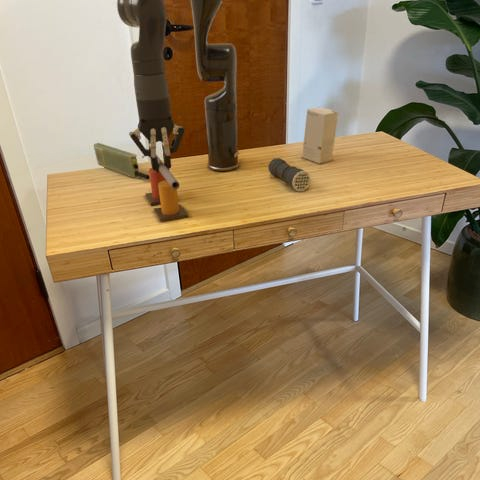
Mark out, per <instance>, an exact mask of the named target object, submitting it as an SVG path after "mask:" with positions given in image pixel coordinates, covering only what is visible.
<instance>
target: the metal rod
mask: <svg viewBox="0 0 480 480" xmlns="http://www.w3.org/2000/svg"><path fill="white" fill-rule="evenodd" d="M146 149H147V150H149V148H146ZM156 157H157V159H158V167H159V171H160V172H161V174H162V175H163V177H164V178H165V179H166V181H167V182H168V183H169V185H170V186H171V187H172V188H173V189H175V190H176V189H177V190H178V189H179V188H180V187H181V185H180V182H179V181H178V180H177V179H176V177H175V176H174V175H173V174H172V172H171V170H170V169H169V170H168V168H167V167H166V166H165V165H164V161H162V159H160V158H161V157H159V156H158V154H156ZM148 158H149V159H150V157H149V156H148Z"/></svg>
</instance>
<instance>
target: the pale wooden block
mask: <svg viewBox="0 0 480 480" xmlns="http://www.w3.org/2000/svg"><path fill="white" fill-rule="evenodd" d="M338 117H339V112H338V111H335V110H332V109H329V108H326V107H322V106H317V107H311V108H307V109H306V117H305V127H304V136H303V137H304V138H303V144H302V145H303V146H302V154H301V157H302V159H305V160H308V161H311V162H314V163H316V164H319V165H320V164H324V163H327V162H331V161H332V160H333V153H334V145H335V140H336V139H335V138H336V131H337V124H338Z"/></svg>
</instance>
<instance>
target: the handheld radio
mask: <svg viewBox="0 0 480 480" xmlns="http://www.w3.org/2000/svg"><path fill="white" fill-rule="evenodd" d="M93 149H94V154H95V158H96V162H97V165H98V166H100V167H103V168H106V169H109V170H112V171H114V172H117V173H119V174H122V175H125V176H128V177H130V178H134V179H141V178H142V179H144V180H150V176H149V174H147V173H144V172H141V171H140V170H139V164H138V159H137V156H138V155H137V154H136V153H132V152H129V151H126V150H123V149H119V148H116V147H113V146H110V145H107V144H103V143H100V142H96V143H94V144H93Z"/></svg>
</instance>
